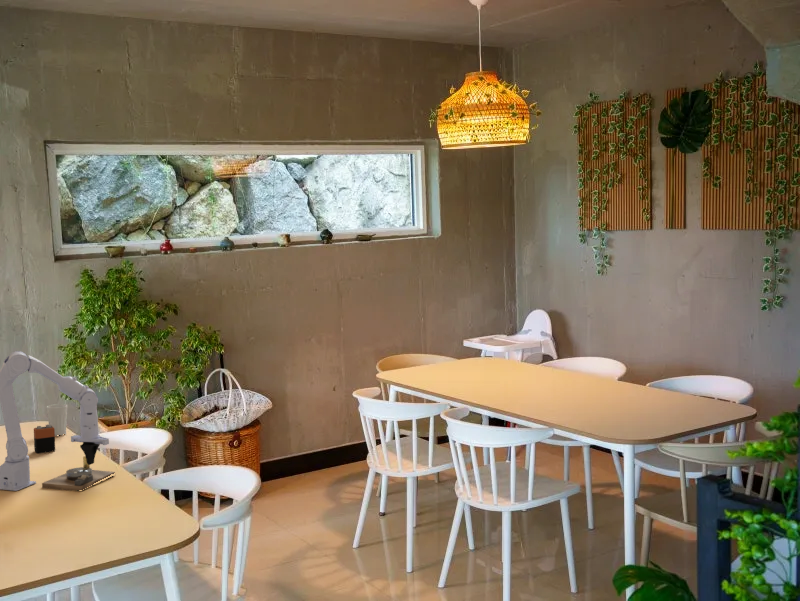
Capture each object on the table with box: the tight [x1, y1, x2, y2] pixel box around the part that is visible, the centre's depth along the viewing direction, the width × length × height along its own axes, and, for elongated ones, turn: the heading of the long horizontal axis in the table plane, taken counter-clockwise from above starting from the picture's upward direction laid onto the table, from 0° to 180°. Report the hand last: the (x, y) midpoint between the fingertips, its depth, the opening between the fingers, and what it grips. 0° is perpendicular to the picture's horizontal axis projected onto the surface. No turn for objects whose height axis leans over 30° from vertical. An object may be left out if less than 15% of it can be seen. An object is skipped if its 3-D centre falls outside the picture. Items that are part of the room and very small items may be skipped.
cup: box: [46, 403, 68, 437], centre depth 353 cm, size 8×8×12 cm
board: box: [41, 469, 116, 491], centre depth 287 cm, size 18×15×4 cm
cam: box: [66, 456, 93, 480], centre depth 289 cm, size 12×8×5 cm
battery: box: [33, 423, 56, 454], centre depth 327 cm, size 4×7×10 cm, turn 123°
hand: (90, 463), depth 293 cm, fingers closed
